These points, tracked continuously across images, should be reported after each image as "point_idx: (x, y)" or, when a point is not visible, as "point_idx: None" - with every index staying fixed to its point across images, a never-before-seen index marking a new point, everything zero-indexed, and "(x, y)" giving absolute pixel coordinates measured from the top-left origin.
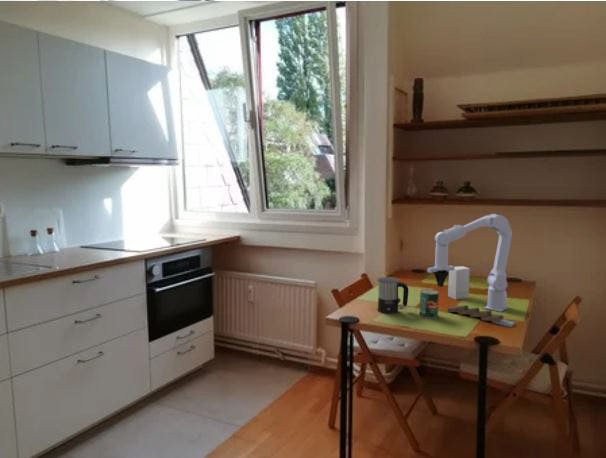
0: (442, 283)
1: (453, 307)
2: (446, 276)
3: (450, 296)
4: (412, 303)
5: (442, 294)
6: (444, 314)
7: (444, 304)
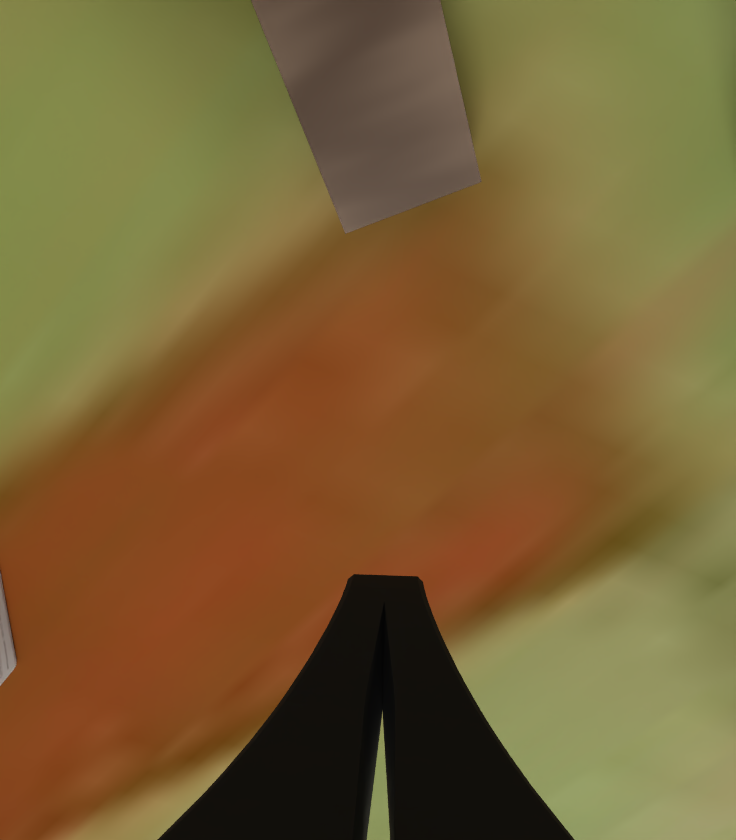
0: (380, 626)
1: (397, 122)
2: (215, 805)
3: (4, 638)
4: (581, 638)
5: (34, 730)
6: (612, 90)
7: (255, 468)
